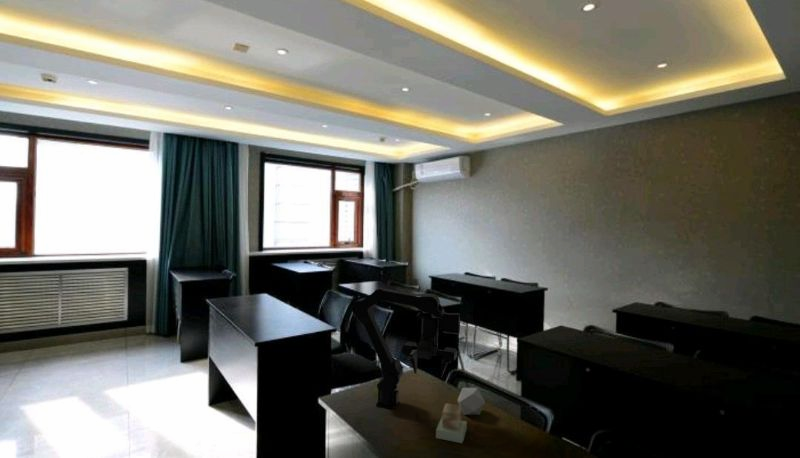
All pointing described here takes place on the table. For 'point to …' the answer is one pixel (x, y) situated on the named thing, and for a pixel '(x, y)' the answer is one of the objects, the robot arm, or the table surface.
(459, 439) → the foundation slab
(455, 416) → the maple cube
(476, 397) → the die
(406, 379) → the table surface
